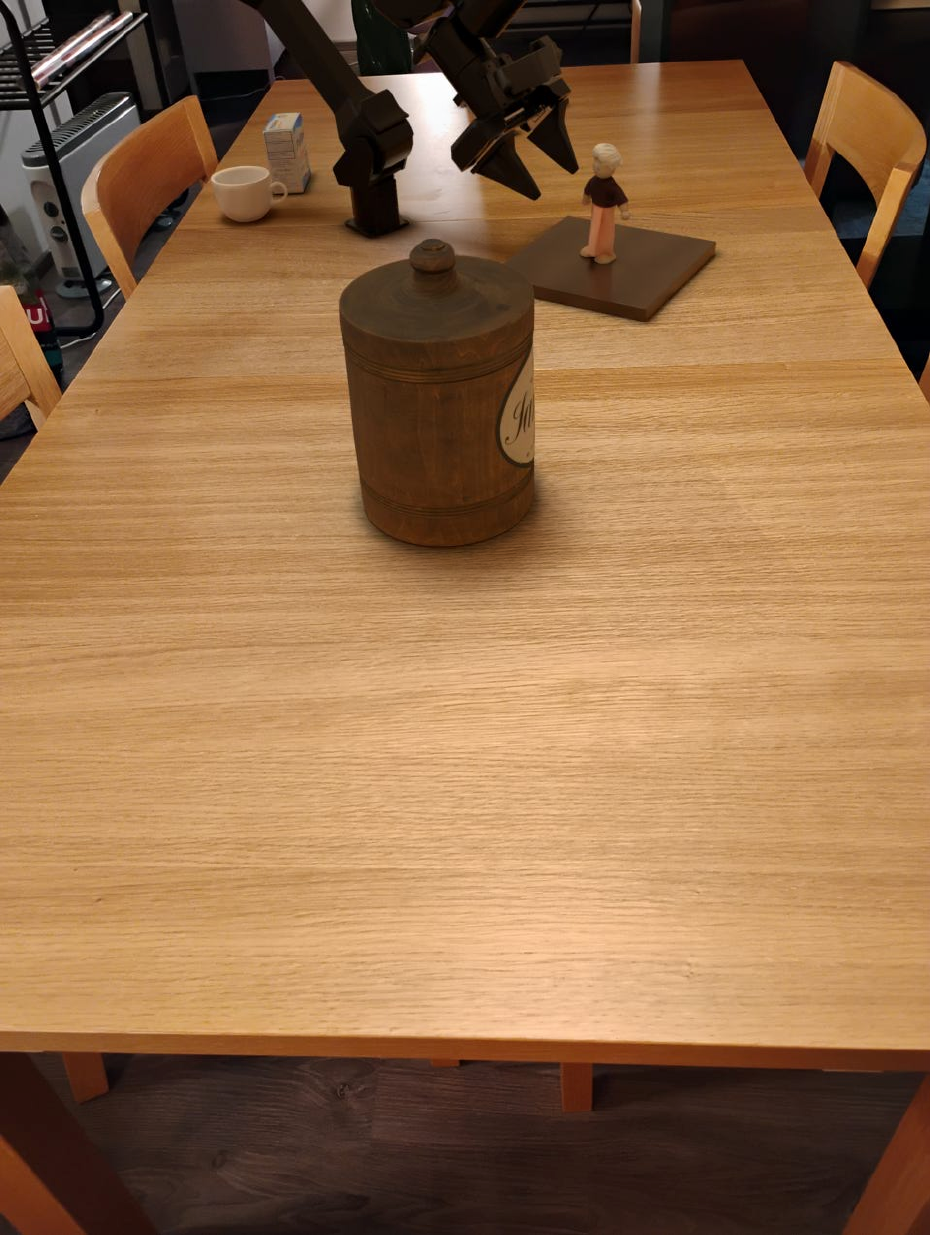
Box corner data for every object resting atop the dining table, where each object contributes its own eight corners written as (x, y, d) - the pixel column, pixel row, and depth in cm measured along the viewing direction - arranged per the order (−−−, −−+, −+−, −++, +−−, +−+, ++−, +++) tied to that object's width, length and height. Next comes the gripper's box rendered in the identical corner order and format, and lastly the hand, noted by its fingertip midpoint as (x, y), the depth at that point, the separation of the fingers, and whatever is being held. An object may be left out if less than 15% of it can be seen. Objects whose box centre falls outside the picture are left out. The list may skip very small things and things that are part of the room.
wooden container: (559, 526, 82) (564, 265, 67) (384, 565, 79) (348, 302, 64) (504, 434, 92) (497, 191, 77) (347, 466, 90) (310, 221, 75)
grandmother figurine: (565, 255, 118) (567, 142, 109) (585, 245, 120) (589, 132, 111) (617, 271, 114) (624, 155, 105) (637, 260, 116) (645, 145, 107)
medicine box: (303, 193, 142) (293, 128, 136) (273, 195, 142) (261, 130, 136) (311, 174, 148) (301, 111, 142) (281, 176, 148) (271, 113, 142)
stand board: (714, 253, 120) (716, 241, 119) (645, 322, 107) (646, 309, 106) (567, 227, 128) (567, 215, 127) (487, 287, 116) (486, 275, 115)
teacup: (212, 226, 134) (203, 185, 131) (229, 205, 140) (220, 165, 136) (283, 226, 133) (276, 185, 129) (298, 205, 138) (291, 165, 135)
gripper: (469, 35, 100) (564, 165, 102) (557, -5, 111) (641, 114, 114) (411, 110, 108) (500, 229, 111) (498, 67, 119) (577, 175, 122)
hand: (557, 184), depth 114 cm, fingers open, 9 cm apart
